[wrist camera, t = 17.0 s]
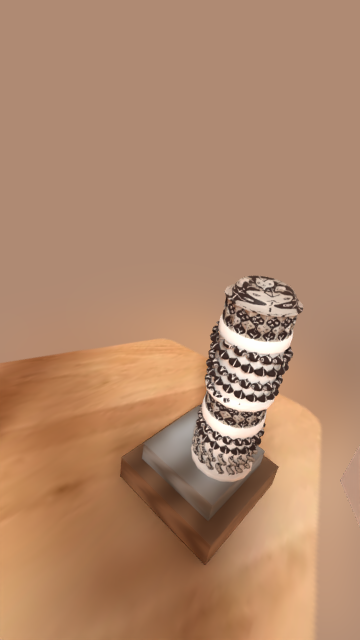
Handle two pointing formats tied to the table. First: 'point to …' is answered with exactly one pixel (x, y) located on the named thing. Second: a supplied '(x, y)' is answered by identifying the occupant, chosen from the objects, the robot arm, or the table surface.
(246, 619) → the table surface
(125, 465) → the tower base
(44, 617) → the table surface
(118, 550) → the table surface
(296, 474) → the table surface
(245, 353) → the patterned studded column
